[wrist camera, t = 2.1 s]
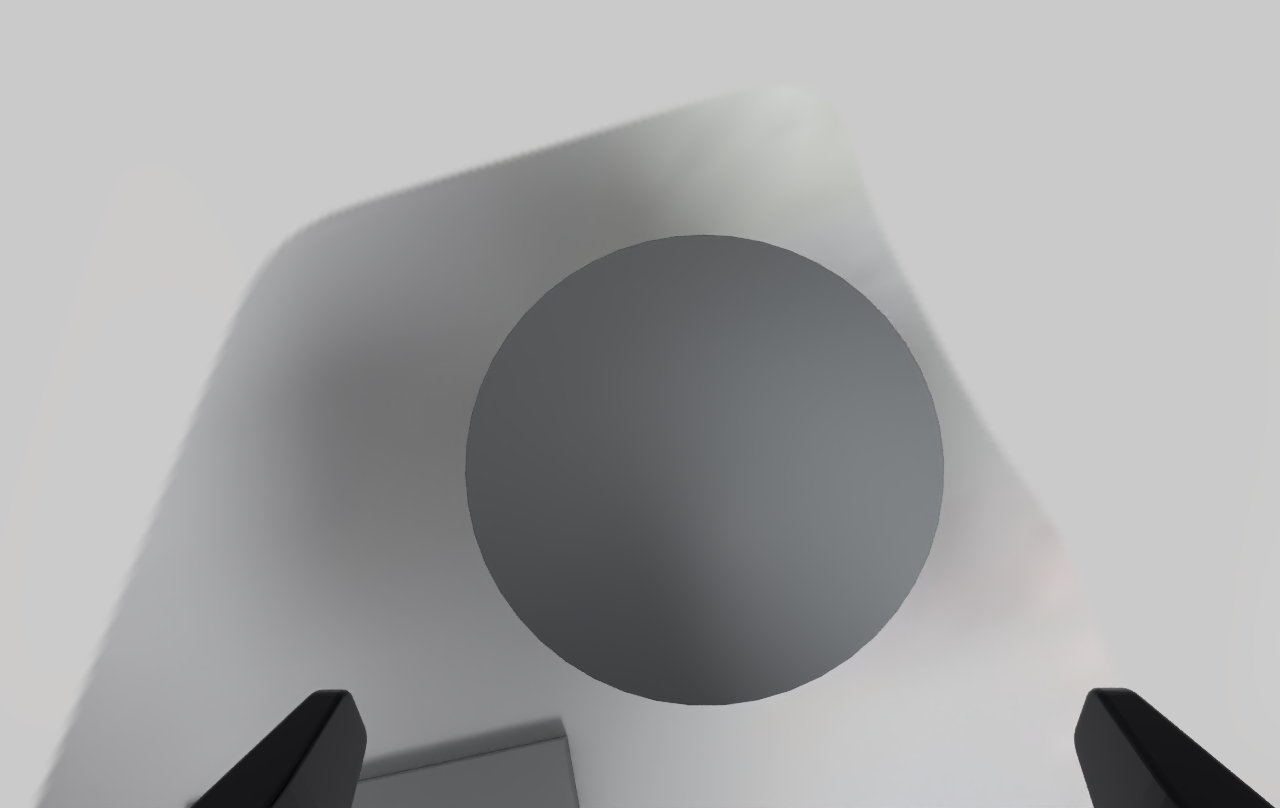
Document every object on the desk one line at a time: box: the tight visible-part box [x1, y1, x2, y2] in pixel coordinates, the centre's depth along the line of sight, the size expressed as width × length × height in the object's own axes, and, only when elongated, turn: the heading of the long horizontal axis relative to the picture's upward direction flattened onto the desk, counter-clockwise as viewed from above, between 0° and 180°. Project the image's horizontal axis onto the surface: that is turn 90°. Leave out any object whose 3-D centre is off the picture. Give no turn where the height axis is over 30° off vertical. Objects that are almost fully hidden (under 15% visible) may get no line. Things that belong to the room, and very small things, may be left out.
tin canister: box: [465, 235, 944, 705], centre depth 14 cm, size 5×5×12 cm
